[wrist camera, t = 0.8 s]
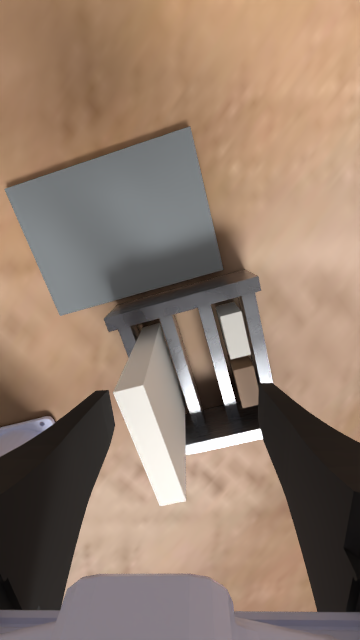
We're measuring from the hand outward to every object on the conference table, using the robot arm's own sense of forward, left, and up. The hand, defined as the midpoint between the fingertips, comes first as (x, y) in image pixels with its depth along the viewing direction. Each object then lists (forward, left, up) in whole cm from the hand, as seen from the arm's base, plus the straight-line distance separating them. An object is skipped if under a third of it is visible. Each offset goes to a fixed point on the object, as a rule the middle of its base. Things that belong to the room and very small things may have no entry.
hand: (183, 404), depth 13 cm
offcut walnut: (+4, -5, -11) cm, 13 cm away
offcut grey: (+4, -1, -11) cm, 12 cm away
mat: (-3, +9, -11) cm, 14 cm away
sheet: (-3, -3, -11) cm, 11 cm away
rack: (+1, -3, -11) cm, 11 cm away
